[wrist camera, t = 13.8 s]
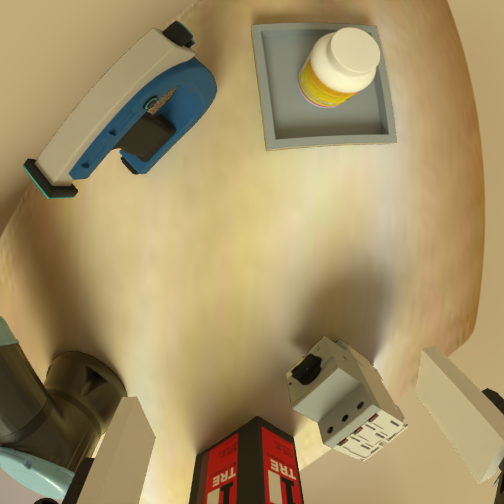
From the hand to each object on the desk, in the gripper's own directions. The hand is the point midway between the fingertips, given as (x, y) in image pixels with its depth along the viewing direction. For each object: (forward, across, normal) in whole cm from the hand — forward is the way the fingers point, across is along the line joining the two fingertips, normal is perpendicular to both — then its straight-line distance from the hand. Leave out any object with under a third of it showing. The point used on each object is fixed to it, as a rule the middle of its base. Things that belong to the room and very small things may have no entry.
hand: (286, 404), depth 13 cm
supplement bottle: (+28, +12, +20) cm, 36 cm away
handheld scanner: (+29, -9, +17) cm, 35 cm away
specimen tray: (+28, +12, +20) cm, 36 cm away
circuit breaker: (+29, +8, -18) cm, 35 cm away
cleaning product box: (+29, -7, -36) cm, 47 cm away
